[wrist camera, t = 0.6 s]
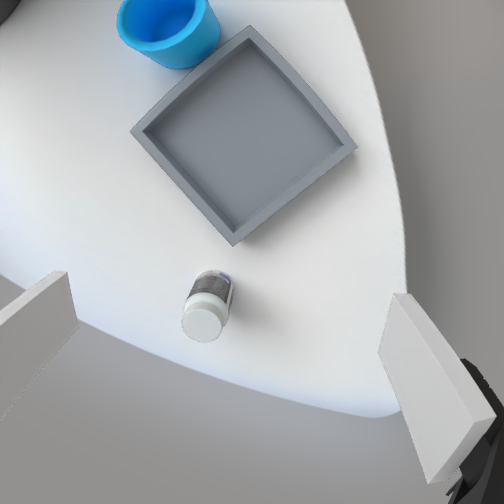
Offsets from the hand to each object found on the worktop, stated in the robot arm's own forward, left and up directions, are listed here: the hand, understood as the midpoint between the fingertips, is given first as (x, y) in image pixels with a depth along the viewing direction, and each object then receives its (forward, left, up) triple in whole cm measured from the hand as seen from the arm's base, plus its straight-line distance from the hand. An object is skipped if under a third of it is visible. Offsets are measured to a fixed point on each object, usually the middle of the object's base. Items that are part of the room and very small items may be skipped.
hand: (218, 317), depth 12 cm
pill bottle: (+5, -10, -24) cm, 26 cm away
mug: (-21, +7, -24) cm, 32 cm away
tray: (-6, +4, -24) cm, 24 cm away
